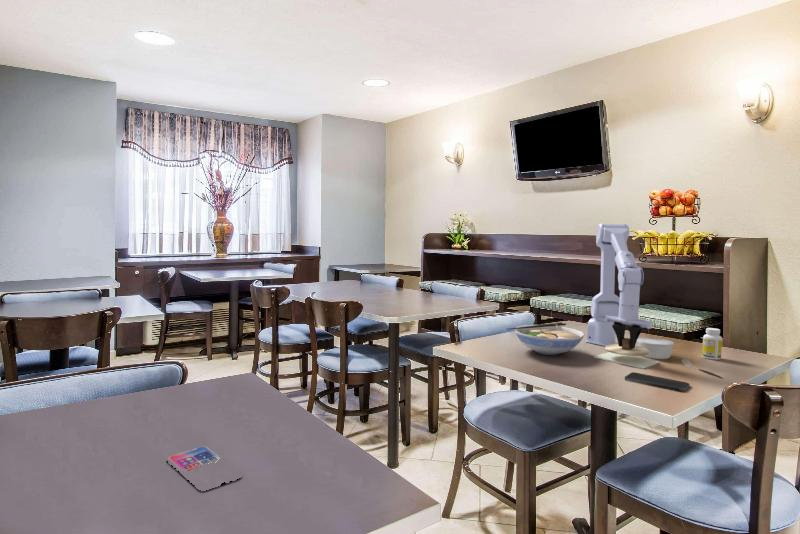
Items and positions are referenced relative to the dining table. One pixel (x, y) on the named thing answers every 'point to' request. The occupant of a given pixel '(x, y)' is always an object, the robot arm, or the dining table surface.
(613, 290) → the robot arm
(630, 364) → the mat
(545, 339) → the ramen bowl
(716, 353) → the supplement bottle
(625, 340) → the lid
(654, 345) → the ramekin
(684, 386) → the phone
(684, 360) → the fork
